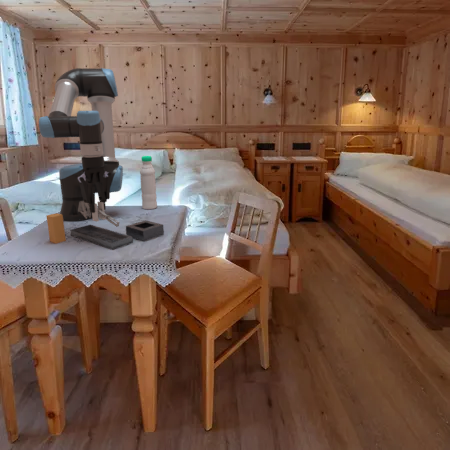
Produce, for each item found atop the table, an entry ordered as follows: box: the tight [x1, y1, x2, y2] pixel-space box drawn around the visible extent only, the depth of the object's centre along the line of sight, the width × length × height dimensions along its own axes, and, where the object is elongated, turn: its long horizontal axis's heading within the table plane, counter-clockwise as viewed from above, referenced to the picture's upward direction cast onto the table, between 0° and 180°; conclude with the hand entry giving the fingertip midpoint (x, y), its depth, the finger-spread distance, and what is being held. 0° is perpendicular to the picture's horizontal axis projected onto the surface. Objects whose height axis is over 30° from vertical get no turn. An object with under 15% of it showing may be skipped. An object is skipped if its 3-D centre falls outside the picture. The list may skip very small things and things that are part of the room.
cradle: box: [69, 224, 134, 251], centre depth 152 cm, size 26×9×2 cm, turn 52°
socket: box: [125, 220, 165, 242], centre depth 156 cm, size 10×10×4 cm
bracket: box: [78, 201, 120, 228], centre depth 149 cm, size 3×21×10 cm, turn 50°
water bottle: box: [139, 155, 158, 210], centre depth 194 cm, size 7×7×25 cm
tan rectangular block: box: [45, 213, 67, 244], centre depth 149 cm, size 4×4×10 cm
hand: (98, 219), depth 150 cm, fingers closed on bracket, 2 cm apart
